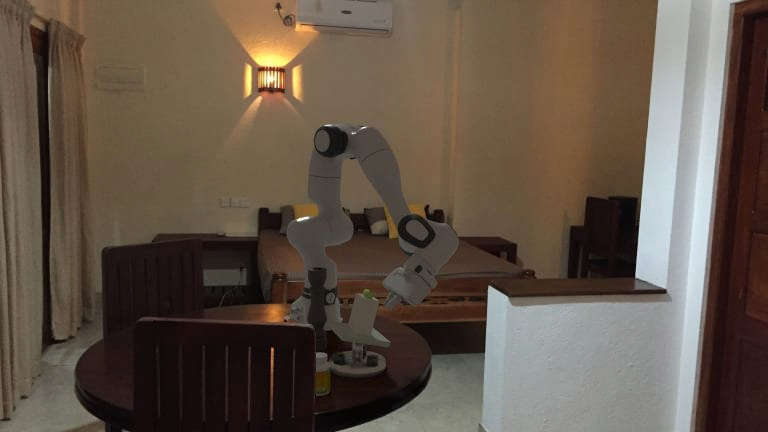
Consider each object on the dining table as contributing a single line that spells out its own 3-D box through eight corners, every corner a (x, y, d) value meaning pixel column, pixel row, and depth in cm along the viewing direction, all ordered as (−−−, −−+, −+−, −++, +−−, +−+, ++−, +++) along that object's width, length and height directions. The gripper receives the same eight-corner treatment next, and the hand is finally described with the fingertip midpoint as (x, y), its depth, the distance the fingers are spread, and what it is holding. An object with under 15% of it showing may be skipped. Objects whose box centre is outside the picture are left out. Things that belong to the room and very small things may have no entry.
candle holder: (312, 352, 170) (312, 271, 168) (303, 346, 176) (303, 268, 173) (330, 349, 174) (331, 269, 171) (321, 343, 179) (322, 266, 176)
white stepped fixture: (371, 332, 168) (382, 289, 168) (389, 347, 155) (400, 300, 155) (327, 325, 163) (338, 281, 162) (342, 340, 150) (354, 292, 149)
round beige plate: (373, 354, 170) (374, 327, 169) (394, 373, 155) (394, 344, 154) (322, 360, 164) (322, 332, 163) (338, 381, 149) (338, 350, 149)
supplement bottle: (329, 396, 140) (330, 358, 139) (308, 396, 140) (308, 358, 139) (330, 387, 146) (330, 351, 145) (309, 387, 145) (309, 351, 144)
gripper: (397, 257, 172) (366, 291, 170) (426, 271, 153) (392, 309, 151) (410, 271, 174) (380, 304, 172) (440, 286, 155) (407, 323, 153)
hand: (386, 307), depth 161 cm, fingers closed
